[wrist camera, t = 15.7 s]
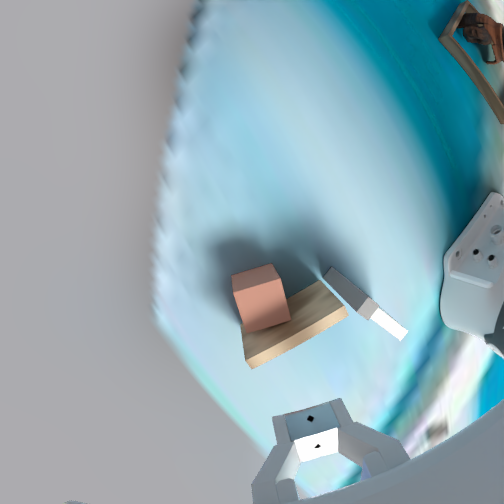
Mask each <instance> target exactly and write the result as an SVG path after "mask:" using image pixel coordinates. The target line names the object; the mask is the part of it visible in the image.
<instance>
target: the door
mask: <svg viewBox="0 0 504 504" xmlns="http://www.w3.org/2000/svg"><path fill="white" fill-rule="evenodd" d="M286 301H287V305H288V309H289V313H290V316H291V320H290V321H287V322H283V323H280V324H277V325H274V326H270V327H267V328H264V329H260V330H257V331H254V332H250V333H246V330H245V327H244V324H243V323H242V324H241V325H240V326H241V333H242V341H243V348H244V355H245V361H246V362H247V363H248V365H249V366H250V367H251V369H253V368H256V367H258V366H260V365H262V364H263V363H265V362H267V361H269V360H271V359H273V358H275V357H277V356H279V355H281V354H283V353H285V352H287V351H288V350H290V349H292V348H294V347H296V346H298V345H299V344H301V343H303V342H305V341H307V340H308V339H310V338H312V337H314V336H315V335H317V334H319V333H321V332H322V331H324V330H326V329H327V328H329V327H331V326H332V325H334V324H336V323H337V322H339V321H341V320H342V319H344V318H346V317H347V316H349V315H348V313H347V310H346V308H345V306H344V305H343V304H342V303H341V301H340V300H339V299H338V298H337V297H336V296H335V295H334V294H333V293H332V292H331V291H330V290H329V289H328V288H327V287H326V286H325V285H324V284H323V283H322V281H321V280H318V281H317V282H315V283H313V284H312V285H310V286H308V287H307V288H305V289H303V290H301V291H300V292H298V293H296V294H295V295H293V296H291V297H289V298H288V299H286Z"/></svg>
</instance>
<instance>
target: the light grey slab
mask: <svg viewBox="0 0 504 504" xmlns="http://www.w3.org/2000/svg"><path fill="white" fill-rule="evenodd" d="M323 279H324V280H325V281H326V282H327V283H328V284H329V285H330V286H331V287H332V288H333V289H334V290H335V291H336V292H337V293H338V294H339V295H340V296H341V297H342V298H343V299H344V300H345V301H346V302H347V303H348V304H349V305H350V306H351V307H352V308H353V309H354V310H355V311H356V312H357V313H359V314H360V315H361V316H363V317H364V318H365V319H367V320H369V319H370V318H371V319H372V320H374V321H375V322H376V323H378V324H379V325H380V326H382V327H383V328H384V329H386V330H387V331H388V332H390V333H391V334H392V335H394V336H395V337H396V338H398V339H399V340H400V341H401V340H402V338H403V337H404V336H405V335H406V333H407V332H408V331H407V330H406V329H405V328H404V327H402V326H401V325H400V324H399V323H398V322H397V321H396V320H394V319H393V318H392V317H391V316H390V315H389V314H387V313H386V312H385V311H384V310H383V309H382V308H380V307H379V305H378V304H377V303H376V302H374V301H373V300H372V299H371V298H370V297H368V296H367V295H366V294H365V293H364V292H362V291H361V290H360V289H359V288H358V287H356V286H355V285H354V284H353V283H352V282H350V281H349V280H348V279H347V278H346V277H344V276H343V275H342V274H341V273H339V272H338V271H337V270H335V269H334V268H333V267H331V268H330V269H329V270H328V272H327V273H326V274H325V276H324V277H323Z"/></svg>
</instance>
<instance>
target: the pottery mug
mask: <svg viewBox="0 0 504 504" xmlns="http://www.w3.org/2000/svg"><path fill="white" fill-rule="evenodd" d="M478 24H483V26H480V27H479V26H478ZM457 28H464V29H463V36H464V37H465V39H466V40H467V42H471V43H478V44H483V45H488V44H491V42H492V41H493V43H494V44H493V45H492V48H493V52H494V55H495V59H496V60H495V61H487V62H486V63H487V64H497V63H499V62H501V61H503V62H504V26H503V24H501V23H496V22H495V21H494V20H493V19H492V18H491V17H489V16H487V15H485V14H480V13H465V14H464V15H463V17H462V19H461V20H460V22H459V24H458V26H457Z"/></svg>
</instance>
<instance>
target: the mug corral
mask: <svg viewBox="0 0 504 504" xmlns="http://www.w3.org/2000/svg"><path fill="white" fill-rule="evenodd" d="M464 13H479V12H478V11H477V10H476V9H475V8H474V6H473V5H472V4H471V3H470V2H469V1H468V0H466V1H465V2H463V3H461V4H459V6H458V8H457V9H456V11H455V13H454V14H453V16H452V18H451V19H450V21H449V23H448V24H447V26H446V28H445V29H444V31H443V32H442V34H441V36H440V37H439V39H438V40H439V41H440V42H441V43H442V44H443V45H444V47H445V48H446V49H447V50H448V51H449V52H450V53H451V55H452V56H453V57H454V58H455V59H456V61H457V62H458V63H459V64H460V65H461V67H462V68H463V69H464V70H465V72H466V73H467V74H468V76H469V77H470V78H471V80H472V81H473V82H474V84H475V85H476V86H477V88H478V89H479V91H480V92H481V93H482V95H483V96H484V98H485V99H486V101H487V102H488V104H489V105H490V107H491V108H492V110H493V112H494V113H495V115H496V116H497V118H498V120H499V121H500V123H501V124H504V106H503V104H502V102H501V101H500V99H499V98H498V96H497V95H496V93H495V91H494V90H493V88H492V87H491V85H490V84H489V82H488V81H487V80H486V78H485V77H484V75H483V74H482V73H481V71H480V70H479V68H478V67H477V66H476V64H475V63H474V62H473V61H472V59H471V58H470V57H469V55H468V54H467V53H466V52H465V51H464V49H463V48H462V47H461V46H460V45H459V43H458V42H457V41H456V40H455V39H454V38H453V36H452V35H453V33H454V31H455V30H456V28H457V26H458V24H459V22H460V20H461V19H462V17H463V15H464ZM478 26H479V27H480V26H483V24H478ZM493 44H494V43H493V41H492V42H491V45H493Z"/></svg>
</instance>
